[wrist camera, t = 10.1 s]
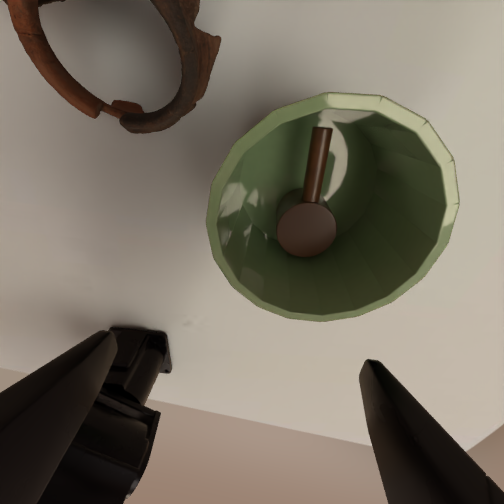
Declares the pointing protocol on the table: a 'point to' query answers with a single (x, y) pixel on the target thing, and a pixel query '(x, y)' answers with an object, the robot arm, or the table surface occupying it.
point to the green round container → (335, 206)
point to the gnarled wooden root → (129, 114)
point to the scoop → (308, 205)
